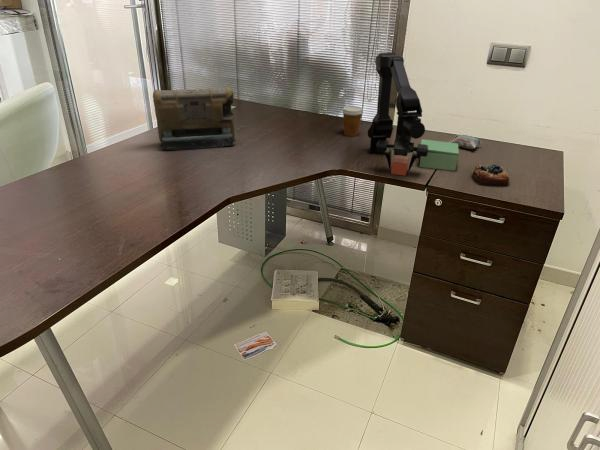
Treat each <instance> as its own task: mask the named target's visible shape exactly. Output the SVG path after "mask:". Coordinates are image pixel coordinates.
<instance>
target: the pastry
mask: <svg viewBox="0 0 600 450" xmlns="http://www.w3.org/2000/svg"><path fill="white" fill-rule="evenodd" d="M472 179H473V181H474V182H475V183H477V184H478V185H481V186H490V187H491V186H492V187H506V186H508V184H509V181H510V176H509V174H508V171H507V170H505V169H504V167H502V166H500V165H499V164H492V165H484V164H478V165H475V166H474V169H473V171H472Z"/></svg>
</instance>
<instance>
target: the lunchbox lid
mask: <svg viewBox="0 0 600 450" xmlns="http://www.w3.org/2000/svg"><path fill="white" fill-rule="evenodd" d="M449 142H450V141H441V140H432V139H425V138H424V139H423V138H422V139H421V141H420V144H424V145H428V151H429V152H436V153H444V154H452V155H458V156H459V153H460V152H459V147H458V144H457V143H449Z"/></svg>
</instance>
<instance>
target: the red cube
mask: <svg viewBox="0 0 600 450" xmlns="http://www.w3.org/2000/svg"><path fill="white" fill-rule="evenodd" d="M409 159H410V158H409V157H404V156H402V157H401V156H393V158H392V160H391V168H390V174H391V175H398V176H405V177H406V176H407V173H408V168H409Z"/></svg>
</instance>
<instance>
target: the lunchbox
mask: <svg viewBox="0 0 600 450" xmlns="http://www.w3.org/2000/svg"><path fill="white" fill-rule="evenodd" d="M419 159H420V160H419V168H427V169H435V170H443V171H444V170H445V171H453V172H455V171H456V170H457V169H456V168H457V165H458V160H459V154H458V155H452V154H444V153H436V152H429V151H428V153H427V156H426V157H423V156H420V158H419Z"/></svg>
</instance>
